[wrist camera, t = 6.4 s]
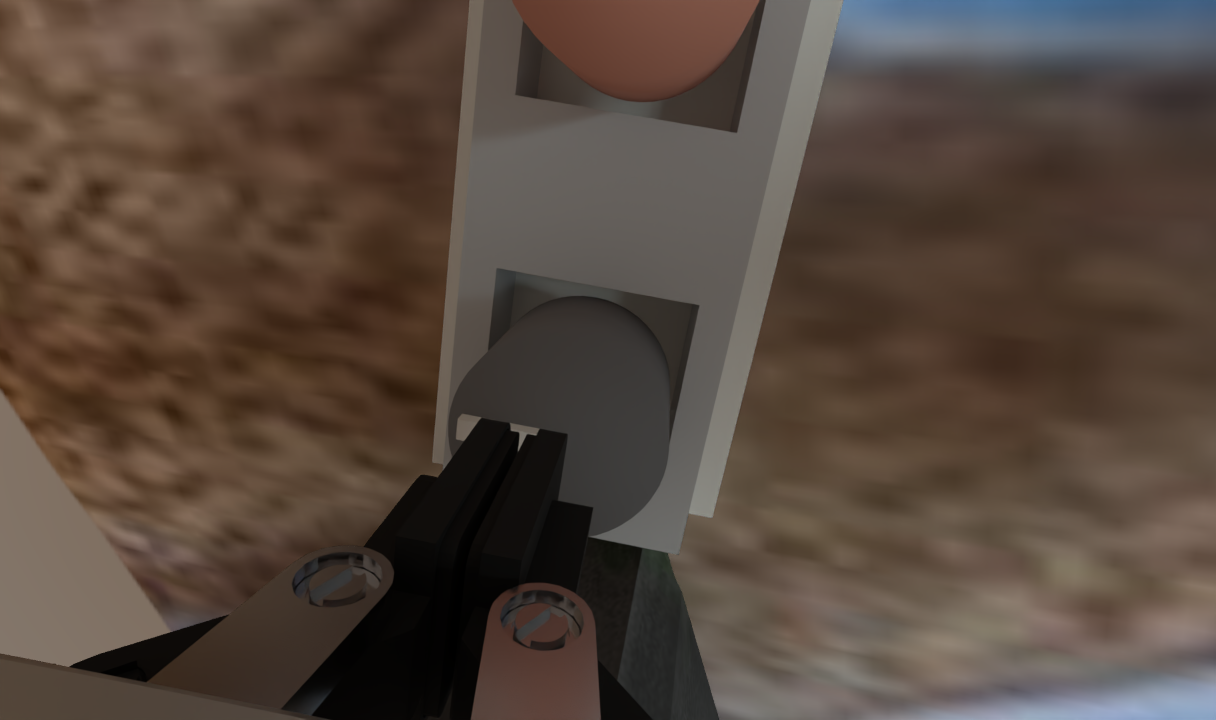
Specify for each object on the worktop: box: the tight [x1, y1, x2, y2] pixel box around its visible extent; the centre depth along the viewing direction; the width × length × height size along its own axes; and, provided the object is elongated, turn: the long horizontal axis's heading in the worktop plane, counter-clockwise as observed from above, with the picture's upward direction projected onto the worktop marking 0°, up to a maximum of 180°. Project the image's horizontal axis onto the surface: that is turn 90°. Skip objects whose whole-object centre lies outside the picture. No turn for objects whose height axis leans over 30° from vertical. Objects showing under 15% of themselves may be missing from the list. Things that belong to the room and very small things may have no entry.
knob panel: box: [432, 0, 843, 555], centre depth 17 cm, size 10×30×6 cm, turn 171°
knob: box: [448, 296, 670, 537], centre depth 15 cm, size 5×5×4 cm
